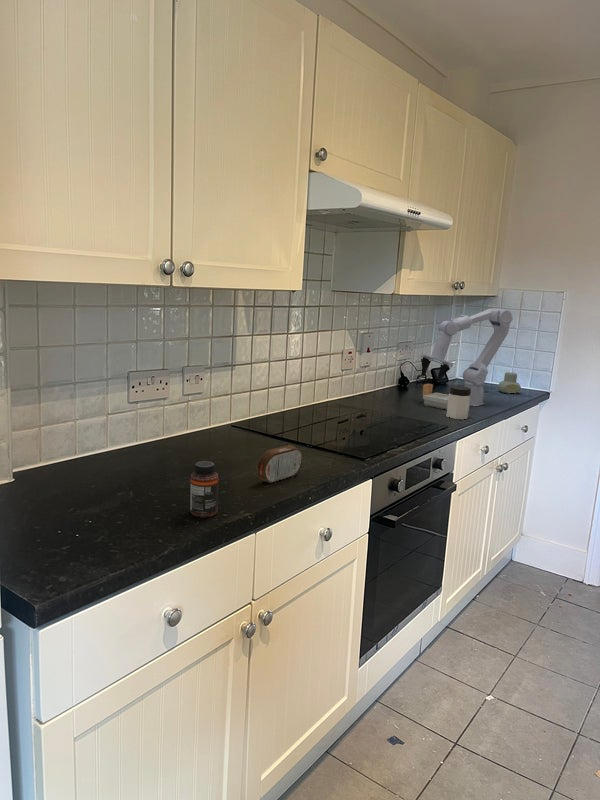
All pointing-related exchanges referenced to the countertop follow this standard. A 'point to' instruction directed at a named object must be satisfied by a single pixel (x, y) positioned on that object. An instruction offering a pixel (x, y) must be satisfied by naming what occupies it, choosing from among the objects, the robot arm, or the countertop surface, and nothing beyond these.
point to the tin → (279, 463)
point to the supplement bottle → (204, 490)
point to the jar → (458, 402)
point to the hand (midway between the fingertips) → (430, 378)
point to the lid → (434, 394)
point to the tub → (435, 404)
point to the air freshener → (509, 383)
